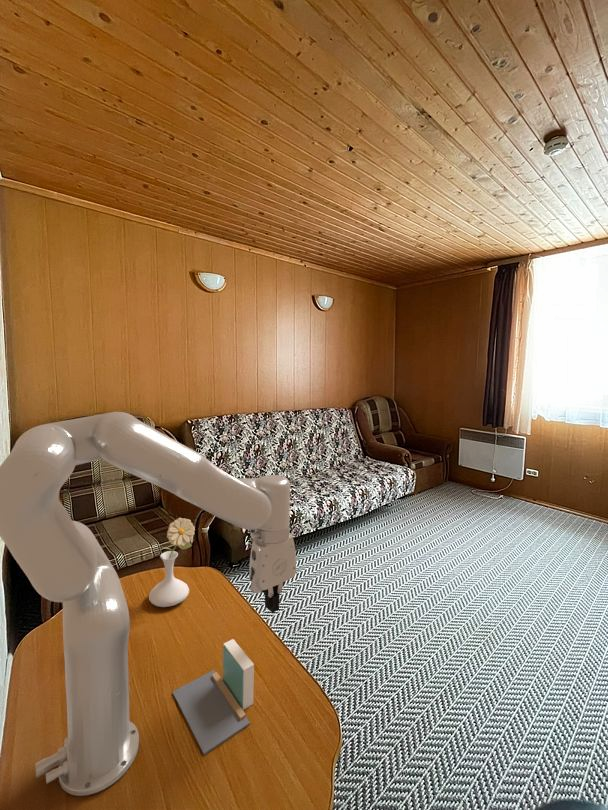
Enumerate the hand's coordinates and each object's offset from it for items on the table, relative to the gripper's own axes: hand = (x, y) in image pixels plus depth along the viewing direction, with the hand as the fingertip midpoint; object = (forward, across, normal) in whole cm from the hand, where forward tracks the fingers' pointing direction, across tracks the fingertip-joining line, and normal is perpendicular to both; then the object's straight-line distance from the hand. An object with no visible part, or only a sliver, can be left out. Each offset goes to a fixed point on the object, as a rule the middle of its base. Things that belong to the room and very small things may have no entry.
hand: (272, 608), depth 84 cm
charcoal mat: (+15, -15, 0) cm, 22 cm away
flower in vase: (+16, -9, +40) cm, 44 cm away
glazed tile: (+16, -9, 0) cm, 18 cm away
